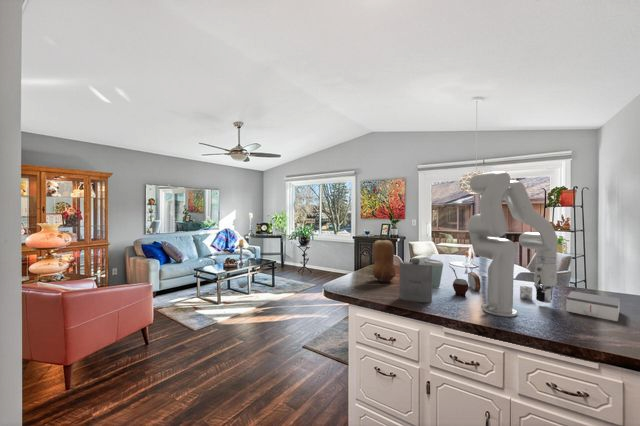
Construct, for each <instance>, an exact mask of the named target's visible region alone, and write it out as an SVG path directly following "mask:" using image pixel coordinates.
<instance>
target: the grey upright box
mask: <svg viewBox="0 0 640 426" xmlns="http://www.w3.org/2000/svg"><path fill="white" fill-rule="evenodd" d="M398 281H399V285H398V286H399V289H398V290H399V293H398V296H399V297H398V298H399V299H400V300H402V301H406V302H407V301H408V302H416V303H417V302H418V303H431V302H433V300H432V299H433V288H432V265H431V264H426V263H424V262H423V263H421V261H420V258H418V257H416V258H415V257H412V259H411V261H410V262H408V261H401V262H399V279H398Z"/></svg>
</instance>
